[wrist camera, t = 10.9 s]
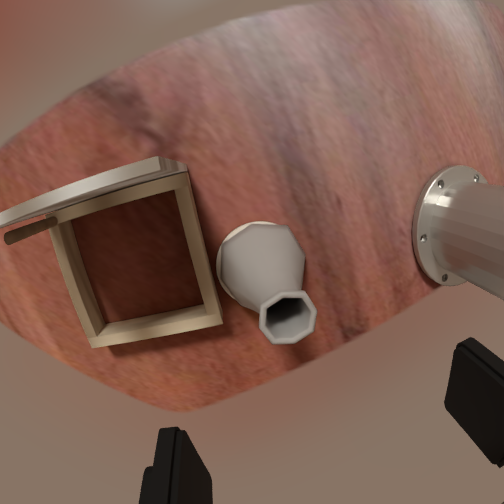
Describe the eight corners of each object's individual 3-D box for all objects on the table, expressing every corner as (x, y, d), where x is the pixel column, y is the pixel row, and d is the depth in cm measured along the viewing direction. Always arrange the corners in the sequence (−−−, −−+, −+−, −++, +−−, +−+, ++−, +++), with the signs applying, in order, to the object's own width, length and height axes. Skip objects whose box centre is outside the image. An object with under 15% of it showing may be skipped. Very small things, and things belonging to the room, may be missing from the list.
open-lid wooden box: (186, 163, 24) (157, 156, 12) (222, 310, 27) (227, 402, 15) (56, 203, 23) (-34, 229, 12) (100, 334, 26) (50, 418, 15)
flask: (313, 291, 27) (358, 351, 17) (232, 315, 27) (241, 388, 17) (294, 210, 25) (341, 235, 15) (207, 235, 25) (200, 277, 15)
